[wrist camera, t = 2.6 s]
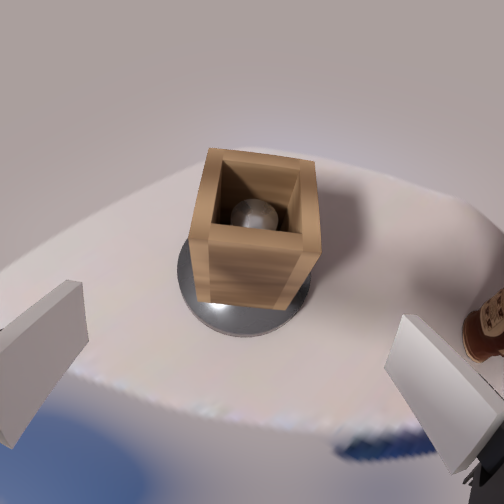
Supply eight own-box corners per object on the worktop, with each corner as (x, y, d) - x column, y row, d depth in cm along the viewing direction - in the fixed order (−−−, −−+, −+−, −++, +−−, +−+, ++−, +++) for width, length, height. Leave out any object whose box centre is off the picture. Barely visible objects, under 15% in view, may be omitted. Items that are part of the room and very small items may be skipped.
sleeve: (285, 310, 25) (321, 253, 17) (197, 301, 25) (188, 237, 16) (286, 236, 29) (314, 161, 20) (209, 227, 29) (208, 147, 20)
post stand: (326, 310, 27) (368, 267, 19) (201, 355, 24) (194, 328, 16) (276, 209, 32) (294, 147, 25) (165, 238, 29) (151, 175, 21)
